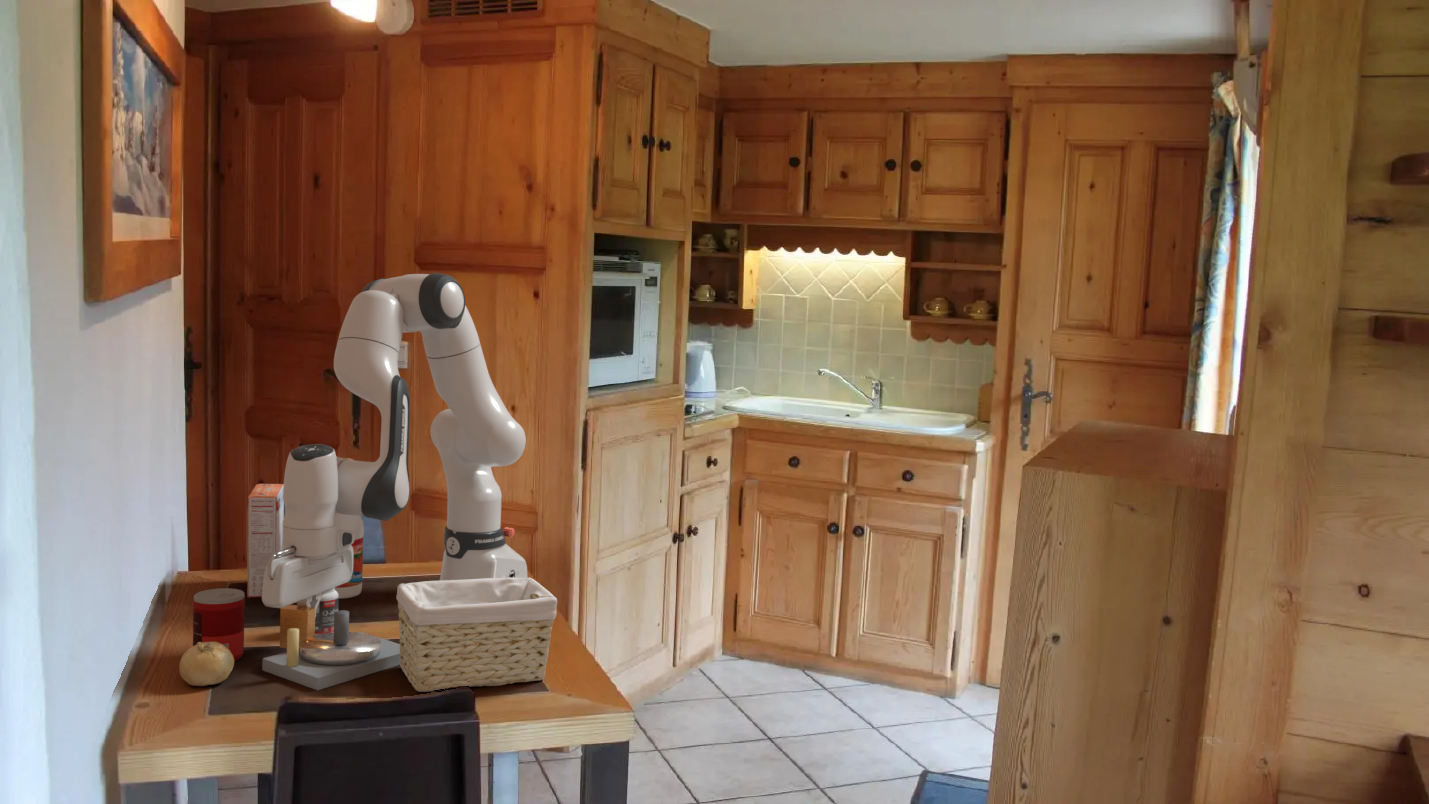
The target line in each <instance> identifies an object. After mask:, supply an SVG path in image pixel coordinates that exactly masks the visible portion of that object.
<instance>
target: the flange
mask: <svg viewBox="0 0 1429 804" xmlns="http://www.w3.org/2000/svg"><path fill="white" fill-rule="evenodd" d="M279 609H280V614H279V615H280V616H279V617H280V618H279V619H280V620H279V621H280V622H279V623H280V624H279V649H280V648H282V649H287V630H288V629H290V628H298V629H299V650H300V657H301V658H302V659H303V660H305V661H308V662H311V663H315V664H323V665H347V664H355V663H360V662H365V661H368V660H371V659H373V658H375V657H377V656H378V655H379V654H380V652H381V640H380V639H379V638H380V637H379V638H377V637H378V636H376V635H372V634H368V633H366V634H365V632H363V633H358V632H355V631H354V632H353V631H349V639H348V643H347V644H343V645H337V644H334V643H333V639H334V633H326V634H320V635H316V636H315V608H314V607H304V606H298V605H297V604H295V605H294V604H290V605H288V606H285V607H283V608H279Z"/></svg>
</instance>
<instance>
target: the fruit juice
mask: <svg viewBox="0 0 1429 804" xmlns="http://www.w3.org/2000/svg"><path fill="white" fill-rule="evenodd" d="M341 458H342V459H348V460H354V461H355V459H354V458H349V457H341ZM336 517H337V521H338V527H337V529H341V530H346V531H351V532H354V534H355V540H354V543H353V544H351V545H352V547H353V552H354V559H353V574H352V576H351V579H350V581H349V582H347V583H344V584H342V585H339V586H337V587H335V591H337V593H338V595H339V599H338V600H341V599H349V598H355V597H357V596H359V595H360V594H361V593H362V590H363V589H362V588H363V571H364V569H363V566H364V538H365V537H364V534H365V531H364V530H365V529H364V521H363V519H362V516H357V515H347V514H340V513H336Z"/></svg>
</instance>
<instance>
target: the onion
mask: <svg viewBox="0 0 1429 804" xmlns="http://www.w3.org/2000/svg"><path fill="white" fill-rule="evenodd" d="M234 666H235V661H234V657H233V655H232V653H231V651H230V650H229V649H228V648H227V647H226V646H224V645H222V644H220V643H218V642H198V643H197V645H195V646H193V645H192V646H191V647H189V648H188V649H187V650H186V651H185V652H184V653H183V654H182V656H181V659H180V661H179V666H178V668H179V675H180V676H181V678H182V679H183V681H184V682H186V683H187V684H188V685H189V686H194V687H205V686H209V685H210V686H212V685H217V684H221V683H222V682H224V681H225V680H226V679H228V677H229V676H230V674H231V672H232V671H233V668H234Z"/></svg>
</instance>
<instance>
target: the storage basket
mask: <svg viewBox="0 0 1429 804" xmlns="http://www.w3.org/2000/svg"><path fill="white" fill-rule="evenodd" d="M396 589H397V592H396V595H395V596H396V597H395V598H396V600H397V608H398V610H399V611H398V621H399V626H398V628H399V640H398V641H399V644H400V665H399V666H400V668H401V669H402V670H401V671H402V672H403V673H404V675H405V677H406V678H407V680H408V682H409V683H410V684H411V686H412V687H413V688H414V690H415V691H416V692H419V693H421V692H422V693H426V692H427V693H428V692H435V691H434V690H439V689H444V690H445V688H450V687H458V686H469V687H468V688H470V687H483V686H484V687H497V686H498V687H499V686H503V685H507V684H510V685H511V684H514V683H527V682H528V683H529V682H535V681H543V680H544V679H545V677H546V670H547V662H548V658H549V653H550V649H549V647H550V644H551V638H552V634H551V633H552V631H553V625H554V621H555V618H556V617H557V606H558V599H557V597H556V596H554V595H553V594H552V593H551V592H550V591H549V590H548V589H546V587H544V586H542V585H541V583H539V582H538V581H536V580H535V579H533V578H532V577H527V578H510V577H509V578H484V579H467V580H444V581H439V580H428V581H427V580H425V581H424V580H423V581H417V582H409V583H403V582H402V583H399V584H398V585H397V588H396ZM439 691H440V690H439Z"/></svg>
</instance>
